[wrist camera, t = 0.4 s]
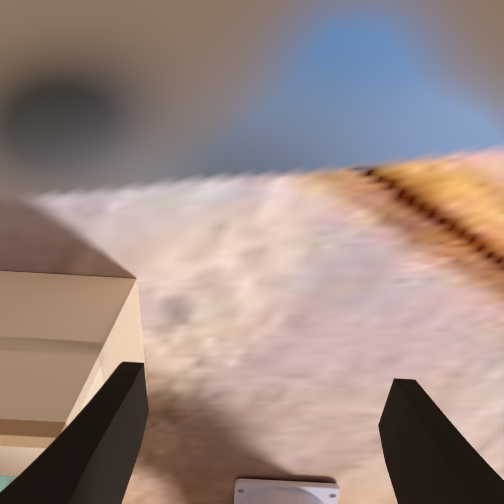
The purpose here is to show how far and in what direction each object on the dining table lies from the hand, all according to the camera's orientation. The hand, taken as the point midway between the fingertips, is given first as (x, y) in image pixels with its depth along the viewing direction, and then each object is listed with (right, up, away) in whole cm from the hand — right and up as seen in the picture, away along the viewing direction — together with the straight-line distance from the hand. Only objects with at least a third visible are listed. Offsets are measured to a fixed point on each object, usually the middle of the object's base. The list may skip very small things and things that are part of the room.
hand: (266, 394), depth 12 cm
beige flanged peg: (-11, -1, +12) cm, 16 cm away
